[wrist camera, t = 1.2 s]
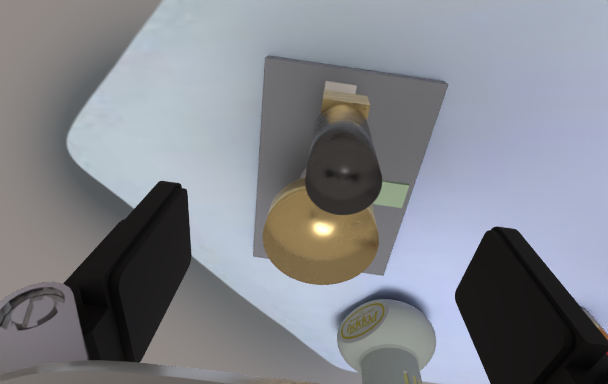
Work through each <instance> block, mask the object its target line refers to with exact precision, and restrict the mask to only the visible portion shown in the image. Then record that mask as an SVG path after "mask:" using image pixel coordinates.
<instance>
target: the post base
mask: <svg viewBox="0 0 608 384" xmlns="http://www.w3.org/2000/svg"><path fill="white" fill-rule="evenodd" d="M447 87H448V84H447V83H445V82H444V81H439V80H432V79H425V78H418V77H411V76H404V75H398V74H391V73H384V72H377V71H370V70H363V69H357V68H350V67H343V66H336V65H329V64H322V63H316V62H309V61H302V60H295V59H288V58H281V57H274V56H267V57H266V58H265V69H264V86H263V102H262V119H261V135H260V152H259V168H258V185H257V201H256V218H255V234H254V251H253V256H254V257H260V258H267V259H269V258H268V256H267V254H266V252H265V249H264V245H263V229H264V226H265V222H266V219H267V216H268V212H269V209H270V206H271V203H272V201H273V200H274V198H275V197H276V195H277V194H278V193H279V192H280V191H281V190H282V189H283V188H284V187H285V186H287V185H288V184H290V183H292V182H293V181H296V180H298V179H301V178H305V177H306V171H307V164H308V158H309V152H310V145H311V139H312V133H313V127H314V124H315V121H316V119H317V118H318V116H319V115H320V113H321V106H322V100H323V93H324V90H330V91H337V92H344V93H351V94H358V95H365V96H367V97H368V100H369V103H370V109H369V113H368V118H367V122H368V126H369V129H370V133H371V137H372V141H373V144H374V148H375V152H376V156H377V159H378V163H379V167H380V171H381V174H382V188H381V191H380V194H379V196H378V197H377V199H376V200H375V201H374V202H373V203H372V204H371V205H372V207H373V210H374V214H375V219H376V224H377V230H378V236H379V246H378V250H377V253H376V256H375V258H374V260H373V261H372V263H371V264H370V265H369V266H368V268H367V269H365V270H364V271H363V272H362V273H368V274H375V275H382V276H383V275H384V272H385V269H386V266H387V263H388V260H389V258H390V255H391V252H392V249H393V246H394V243H395V240H396V237H397V234H398V231H399V228H400V225H401V222H402V219H403V216H404V213H405V211H406V208H407V205H408V202H409V199H410V196H411V193H412V190H413V187H414V184H415V181H416V178H417V175H418V172H419V169H420V166H421V164H422V161H423V158H424V155H425V152H426V149H427V146H428V143H429V140H430V137H431V134H432V131H433V128H434V125H435V122H436V119H437V117H438V114H439V111H440V108H441V105H442V102H443V99H444V96H445V93H446V90H447Z"/></svg>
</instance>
